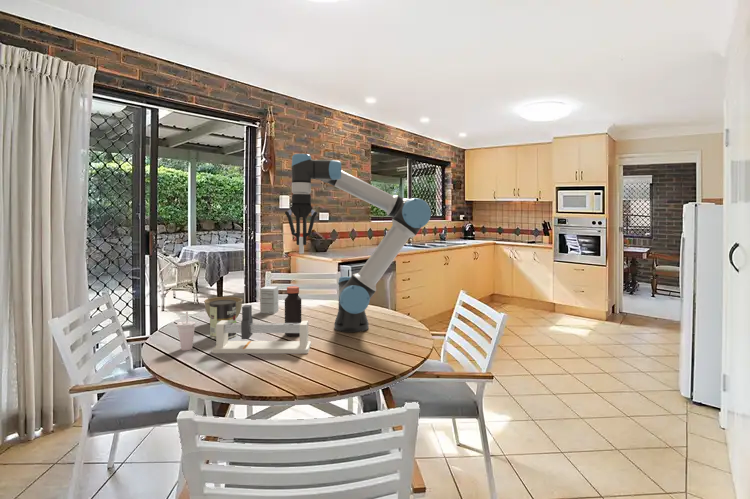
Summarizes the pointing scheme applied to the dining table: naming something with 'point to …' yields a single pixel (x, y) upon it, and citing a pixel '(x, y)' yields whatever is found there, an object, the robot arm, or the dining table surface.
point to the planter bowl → (238, 300)
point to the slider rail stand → (261, 343)
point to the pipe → (264, 328)
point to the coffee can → (222, 315)
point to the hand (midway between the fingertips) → (301, 253)
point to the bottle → (292, 308)
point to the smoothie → (186, 333)
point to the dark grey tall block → (246, 321)
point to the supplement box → (269, 299)
